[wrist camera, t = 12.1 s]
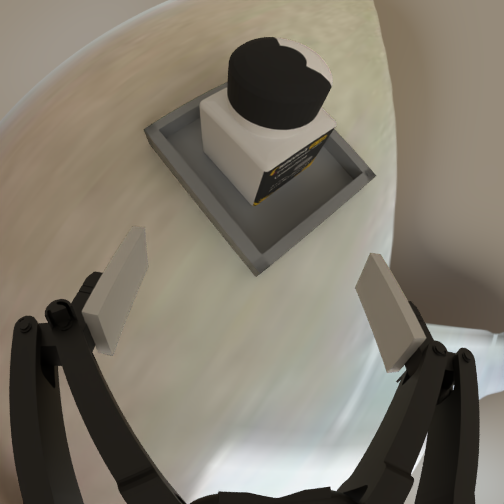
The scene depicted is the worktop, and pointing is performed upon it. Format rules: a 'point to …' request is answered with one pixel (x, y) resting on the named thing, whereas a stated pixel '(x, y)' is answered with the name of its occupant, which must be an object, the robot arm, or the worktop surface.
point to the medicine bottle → (268, 115)
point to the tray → (270, 209)
